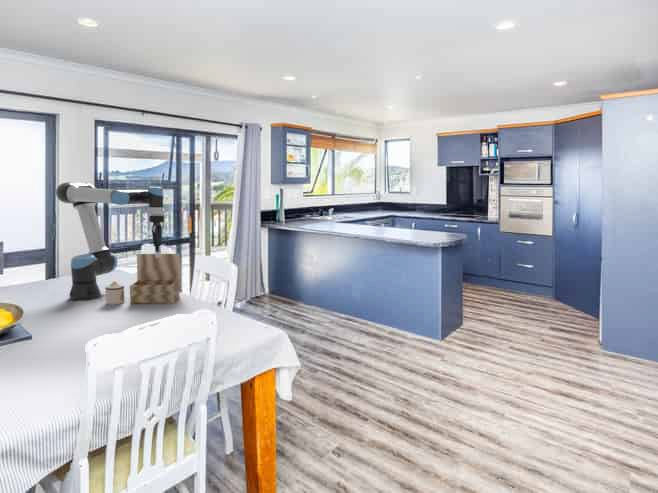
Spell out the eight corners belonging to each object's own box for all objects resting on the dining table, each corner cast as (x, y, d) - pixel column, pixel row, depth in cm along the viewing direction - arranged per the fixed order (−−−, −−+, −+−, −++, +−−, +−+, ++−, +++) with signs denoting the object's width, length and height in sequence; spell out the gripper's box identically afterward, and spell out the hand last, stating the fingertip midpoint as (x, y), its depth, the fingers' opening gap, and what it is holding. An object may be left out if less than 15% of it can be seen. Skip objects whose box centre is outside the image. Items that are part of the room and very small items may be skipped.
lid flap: (136, 253, 238) (137, 253, 238) (137, 279, 238) (137, 279, 239) (179, 253, 240) (180, 253, 241) (179, 279, 241) (180, 279, 242)
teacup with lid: (124, 304, 225) (123, 282, 224) (105, 305, 222) (103, 283, 220) (125, 298, 236) (124, 278, 235) (107, 300, 233) (106, 279, 231)
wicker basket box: (130, 304, 226) (129, 285, 224) (139, 297, 240) (138, 279, 238) (173, 303, 228) (172, 285, 227) (179, 296, 242) (179, 279, 241)
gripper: (160, 215, 229) (161, 259, 232) (166, 214, 242) (168, 255, 245) (145, 215, 228) (147, 259, 231) (153, 214, 241) (154, 255, 244)
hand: (158, 257), depth 238 cm, fingers closed
